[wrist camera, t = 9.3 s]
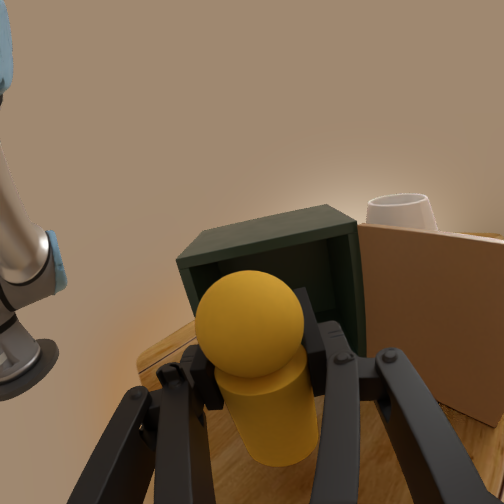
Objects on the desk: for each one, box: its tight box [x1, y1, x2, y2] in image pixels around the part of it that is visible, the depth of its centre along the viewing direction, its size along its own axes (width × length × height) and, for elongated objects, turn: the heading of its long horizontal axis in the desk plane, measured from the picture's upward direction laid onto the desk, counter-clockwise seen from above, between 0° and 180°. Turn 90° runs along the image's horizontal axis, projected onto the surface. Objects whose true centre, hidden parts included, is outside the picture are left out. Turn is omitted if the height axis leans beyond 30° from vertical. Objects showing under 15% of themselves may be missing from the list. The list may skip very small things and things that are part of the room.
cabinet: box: [176, 204, 367, 358], centre depth 31 cm, size 12×16×15 cm
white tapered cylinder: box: [366, 193, 439, 231], centre depth 36 cm, size 13×13×14 cm
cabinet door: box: [357, 223, 504, 428], centre depth 18 cm, size 6×16×15 cm, turn 28°
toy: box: [195, 270, 319, 467], centre depth 13 cm, size 5×5×11 cm
